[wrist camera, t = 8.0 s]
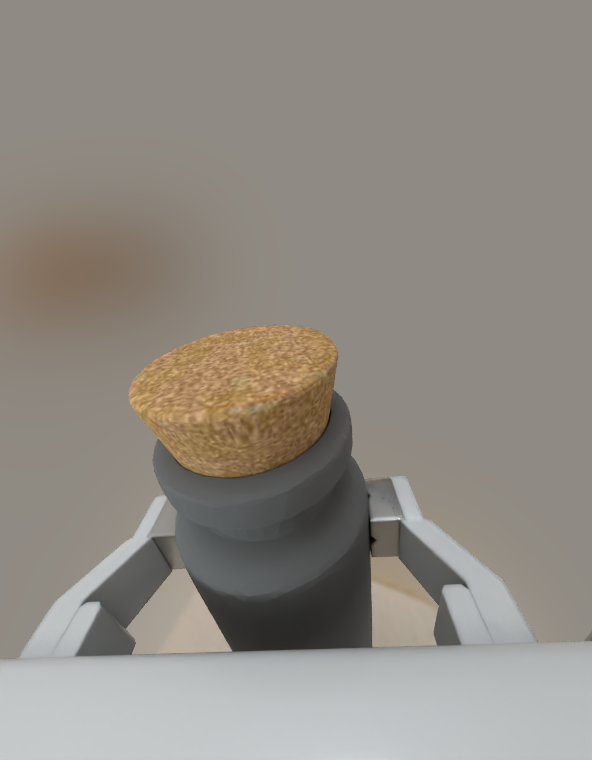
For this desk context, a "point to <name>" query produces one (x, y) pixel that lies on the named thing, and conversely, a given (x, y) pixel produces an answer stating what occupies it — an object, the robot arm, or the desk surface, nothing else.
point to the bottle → (263, 486)
